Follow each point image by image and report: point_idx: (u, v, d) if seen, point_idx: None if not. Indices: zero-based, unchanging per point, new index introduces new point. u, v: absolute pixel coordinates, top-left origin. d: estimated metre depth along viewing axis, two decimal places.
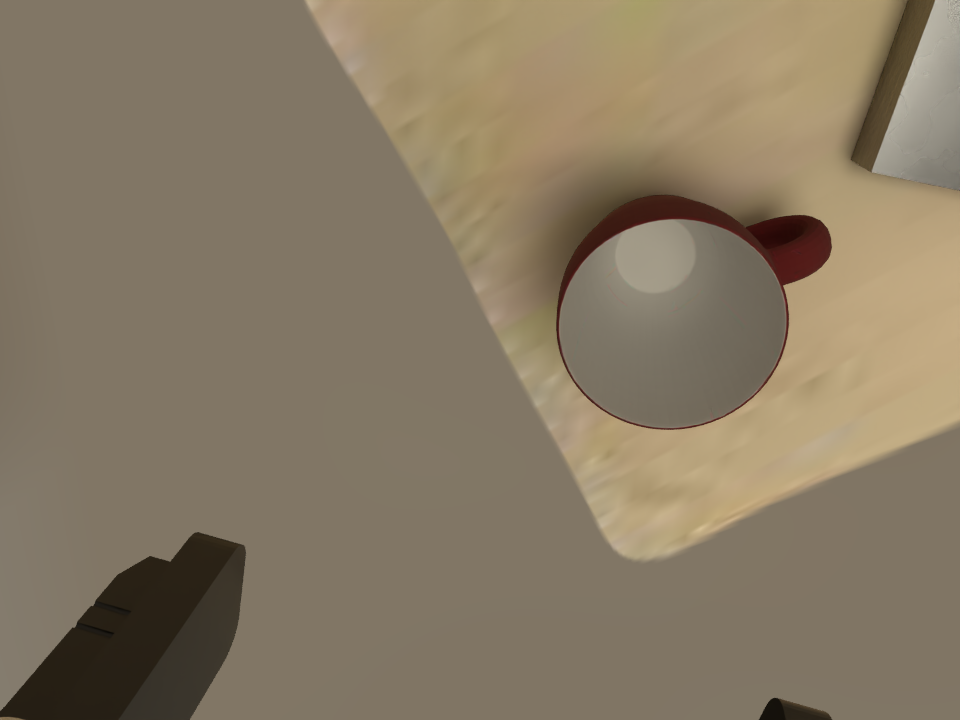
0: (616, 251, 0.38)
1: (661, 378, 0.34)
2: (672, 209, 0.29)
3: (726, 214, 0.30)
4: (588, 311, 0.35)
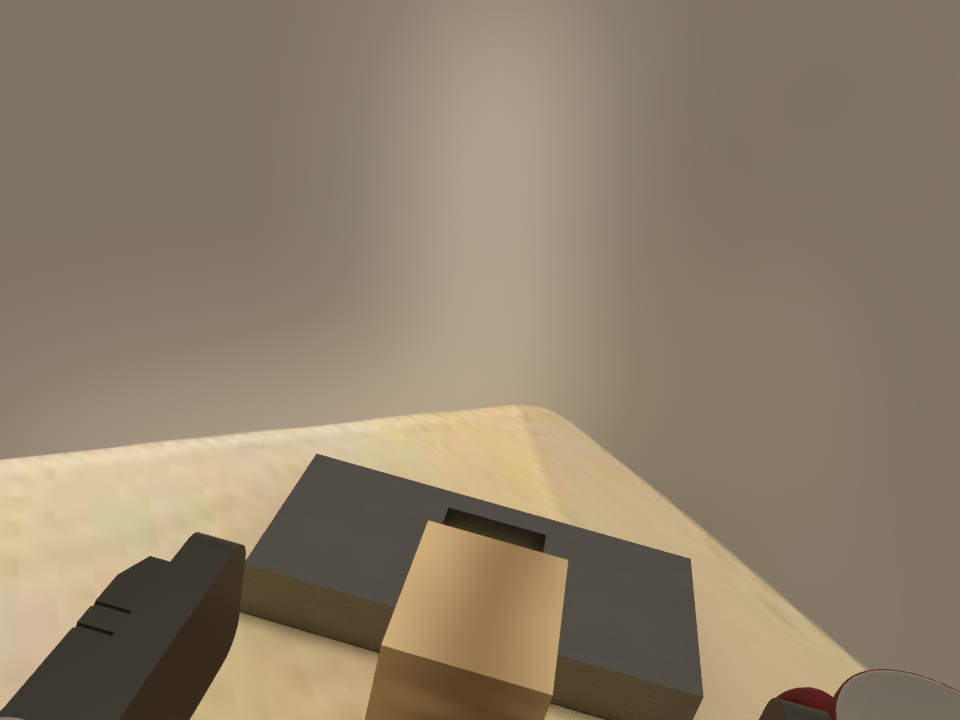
0: None
1: None
2: None
3: None
4: None
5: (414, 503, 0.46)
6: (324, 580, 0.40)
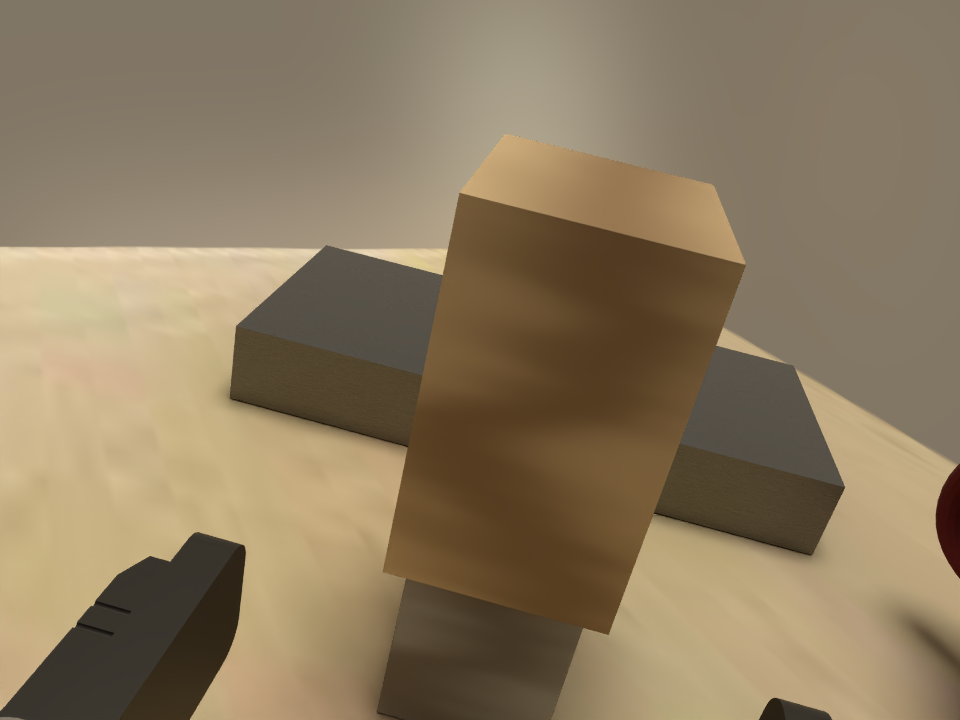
0: None
1: None
2: None
3: None
4: None
5: None
6: (341, 348, 0.30)
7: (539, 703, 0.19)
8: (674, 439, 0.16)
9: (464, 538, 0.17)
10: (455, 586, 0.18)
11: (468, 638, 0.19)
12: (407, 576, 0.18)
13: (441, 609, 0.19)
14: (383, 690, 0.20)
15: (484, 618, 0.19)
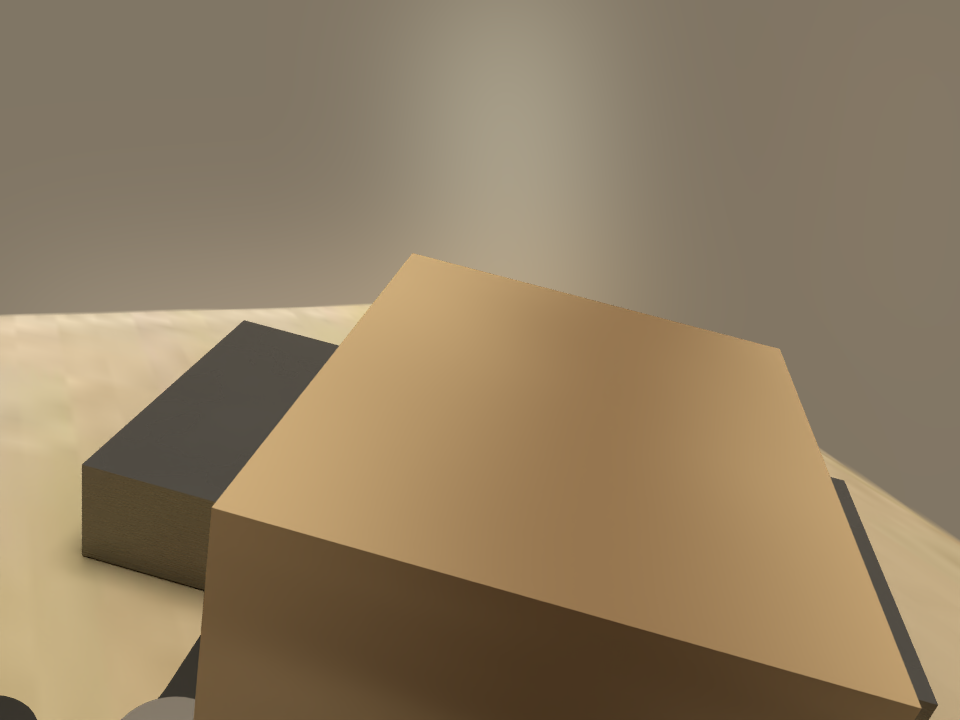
0: None
1: None
2: None
3: None
4: None
5: None
6: None
7: None
8: None
9: None
10: None
11: None
12: None
13: None
14: None
15: None
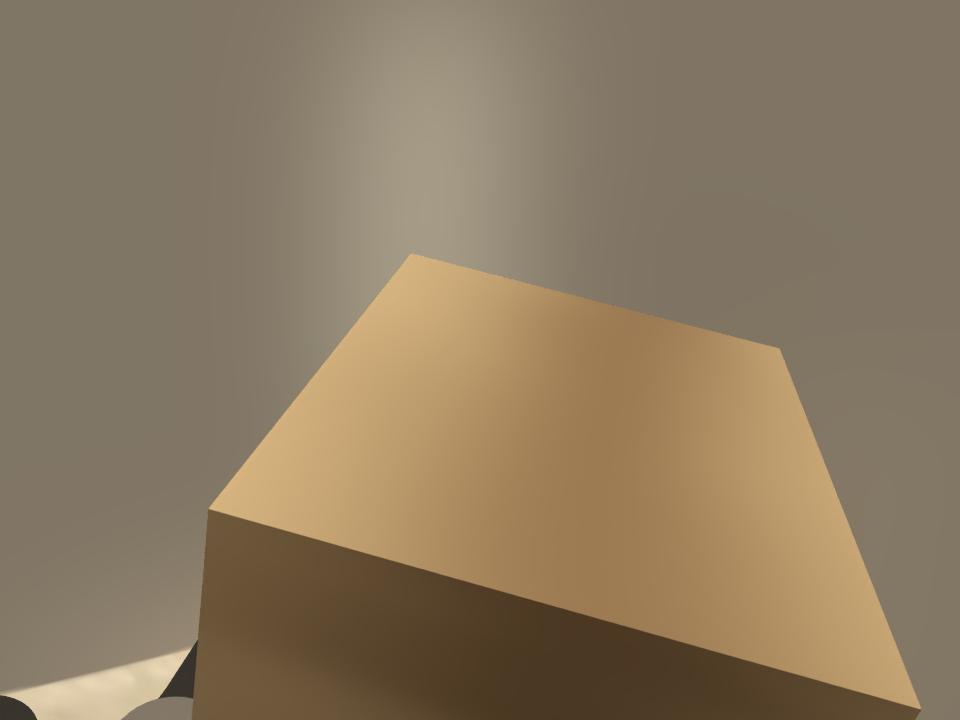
0: None
1: None
2: None
3: None
4: None
5: None
6: None
7: None
8: None
9: None
10: None
11: None
12: None
13: None
14: None
15: None
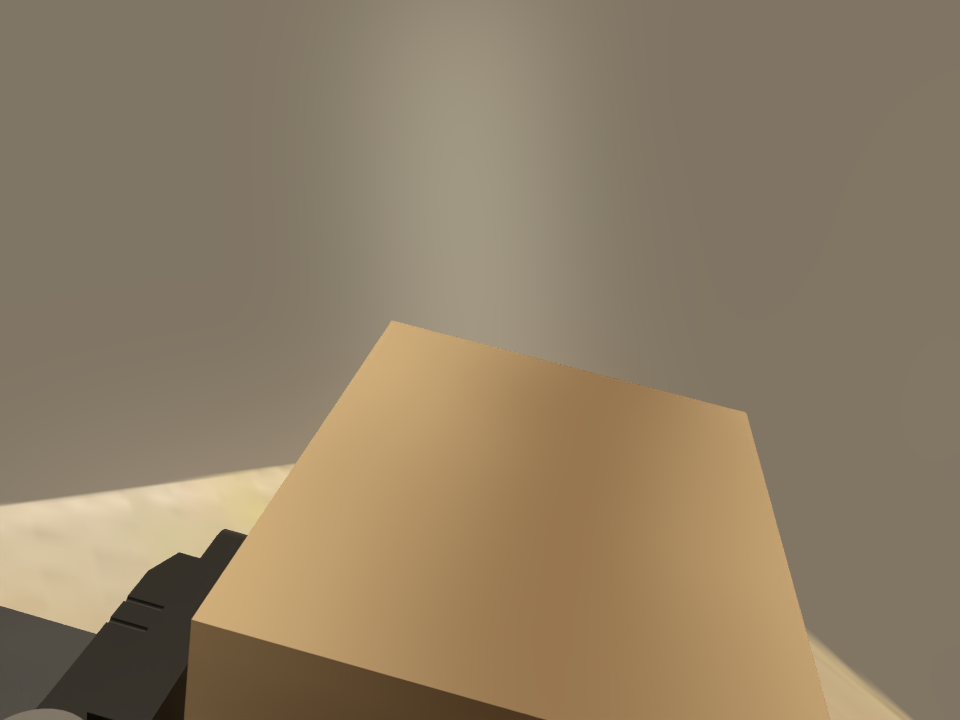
0: None
1: None
2: None
3: None
4: None
5: None
6: None
7: None
8: None
9: None
10: None
11: None
12: None
13: None
14: None
15: None
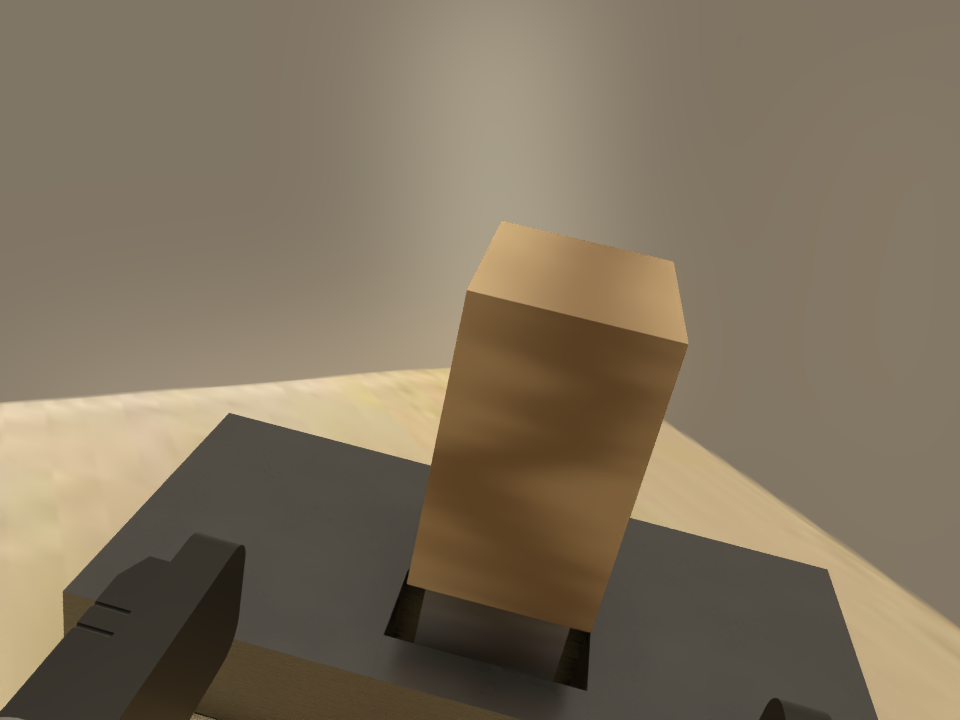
0: None
1: None
2: None
3: None
4: None
5: (382, 485, 0.29)
6: None
7: None
8: (638, 476, 0.20)
9: (472, 555, 0.22)
10: (466, 595, 0.22)
11: (477, 638, 0.23)
12: (426, 587, 0.22)
13: (454, 614, 0.23)
14: None
15: (489, 621, 0.23)
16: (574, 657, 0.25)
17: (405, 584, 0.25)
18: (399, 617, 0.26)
